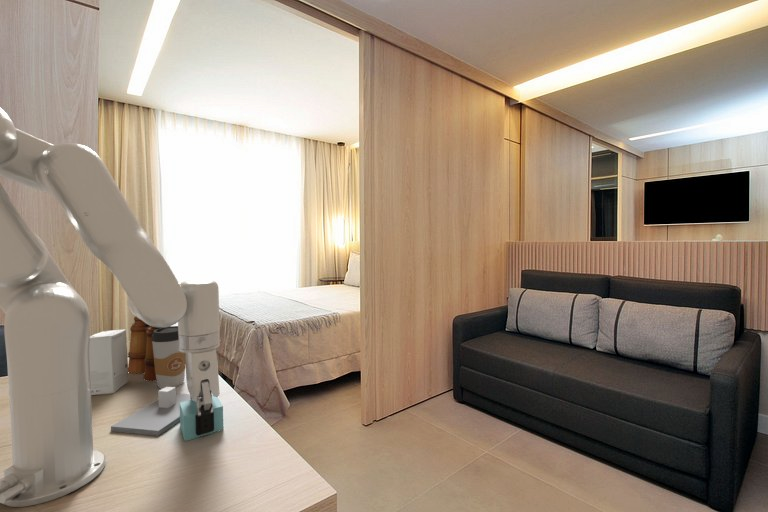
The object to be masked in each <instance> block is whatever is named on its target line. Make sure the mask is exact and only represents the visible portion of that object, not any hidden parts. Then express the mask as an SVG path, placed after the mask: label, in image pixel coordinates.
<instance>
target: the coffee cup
mask: <svg viewBox="0 0 768 512" xmlns="http://www.w3.org/2000/svg"><path fill="white" fill-rule="evenodd" d="M151 341H152V344H153V353H154V365H155V373H156V380H157V381H156V386H158V388H159V389H163V388H165V387H179V386H181V385H182V384H184V381H185V378H186V363H185V353H184V352H180V351H179V341H178V325H172V326H170V327H164V328H159V329H156V330H154V331H153V335H152V339H151ZM180 384H181V385H180ZM178 385H179V386H178Z"/></svg>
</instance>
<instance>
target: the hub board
mask: <svg viewBox="0 0 768 512" xmlns="http://www.w3.org/2000/svg"><path fill="white" fill-rule="evenodd" d="M176 387H177V386H176ZM176 387H165V388H160V389H159V390H157V391H158V392H157V393H158V398H157V399H156V400H154V401H153V402H151V403H149V404H148V405H145V406H144V407H142V408H140V409H138V410H137V411H135V412H133V413H132V414H130V415H128V416H126V417H124V418H123V419H122V420H119V421H118V422H116V423H114V424H112V425H111V426H110V431H111V432H117V433H127V434H136V435H137V434H138V435H147V436H157V437H159V436H160V435H162V434H164V433H165V432H166V431H168V430H170V428H172V427H173V426H175V425H176V424H178V423H180V402H185V401H189V400H191V399H190V393H178V392H177V388H176ZM176 392H177V393H176Z"/></svg>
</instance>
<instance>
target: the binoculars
mask: <svg viewBox="0 0 768 512" xmlns="http://www.w3.org/2000/svg"><path fill="white" fill-rule="evenodd" d="M133 321H134V322H133V323H132V324H131V326H130V327H129V328H130V330H129V331H130V342H129V351H128V352H127V358H128V372H129V373H128V374H131V373H142V374H144V375H143V380H144V379H145V380H144V381H146V380H147V382H157V380H156V373H155V365H154V353H153V344H152V341H151V339H152V335H153V331H154V330H156V329H159V328H157V327H153V326H150V325H148V324H146V323H145V322H143V321H142V320H140V319H139V318H137V317H136V316H135V315H134V317H133ZM169 327H170V326H169Z"/></svg>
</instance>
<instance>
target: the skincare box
mask: <svg viewBox="0 0 768 512" xmlns="http://www.w3.org/2000/svg"><path fill="white" fill-rule="evenodd" d="M127 344H128V343H127V329H114V330H103V331H100V332H98V333H94V334H92V335H90V342H89V360H90V381H91V396H96V395H97V396H98V395H110V394H111V395H113V394H115V393H116V392H117V391H118V390H120V388H122V387H123V386H125V385H126V384H127V383H129V382H130V381H129V380H130V379H129V373H128V365H129V357H128V345H127Z"/></svg>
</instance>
